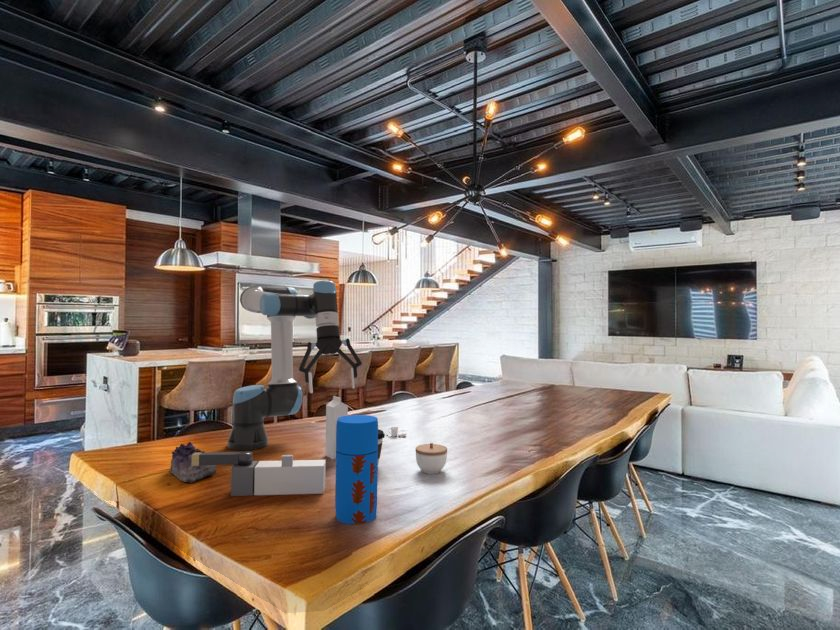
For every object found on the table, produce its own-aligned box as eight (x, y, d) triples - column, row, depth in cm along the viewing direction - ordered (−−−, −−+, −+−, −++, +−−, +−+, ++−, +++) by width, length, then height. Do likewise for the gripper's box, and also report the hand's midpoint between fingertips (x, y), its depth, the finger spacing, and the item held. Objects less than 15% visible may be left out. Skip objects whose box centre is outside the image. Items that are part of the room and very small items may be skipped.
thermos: (337, 507, 125) (338, 414, 126) (377, 506, 126) (378, 414, 126) (333, 525, 114) (334, 423, 115) (376, 524, 115) (378, 423, 116)
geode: (155, 472, 152) (160, 441, 154) (191, 469, 161) (195, 439, 162) (181, 485, 139) (186, 450, 140) (219, 480, 148) (223, 448, 149)
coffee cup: (371, 473, 153) (371, 437, 153) (346, 467, 159) (346, 432, 159) (390, 465, 162) (391, 430, 162) (366, 460, 168) (366, 426, 168)
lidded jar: (424, 478, 149) (424, 449, 150) (409, 468, 159) (410, 441, 159) (453, 473, 154) (453, 445, 154) (437, 464, 164) (437, 437, 164)
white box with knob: (236, 488, 138) (237, 451, 139) (325, 486, 141) (325, 449, 141) (230, 495, 132) (231, 457, 133) (323, 493, 135) (323, 455, 135)
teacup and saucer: (408, 436, 204) (408, 427, 204) (398, 440, 197) (398, 430, 197) (392, 433, 209) (392, 424, 209) (381, 437, 202) (381, 428, 202)
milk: (332, 459, 168) (333, 398, 168) (325, 455, 173) (325, 396, 173) (347, 456, 172) (348, 397, 172) (340, 452, 176) (340, 394, 176)
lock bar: (195, 462, 136) (196, 451, 136) (253, 461, 138) (253, 450, 138) (190, 466, 132) (190, 455, 132) (250, 465, 134) (250, 454, 134)
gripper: (287, 327, 149) (291, 394, 145) (365, 321, 153) (371, 385, 149) (290, 332, 157) (294, 395, 152) (364, 325, 161) (370, 387, 156)
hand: (332, 390), depth 151 cm, fingers open, 13 cm apart
